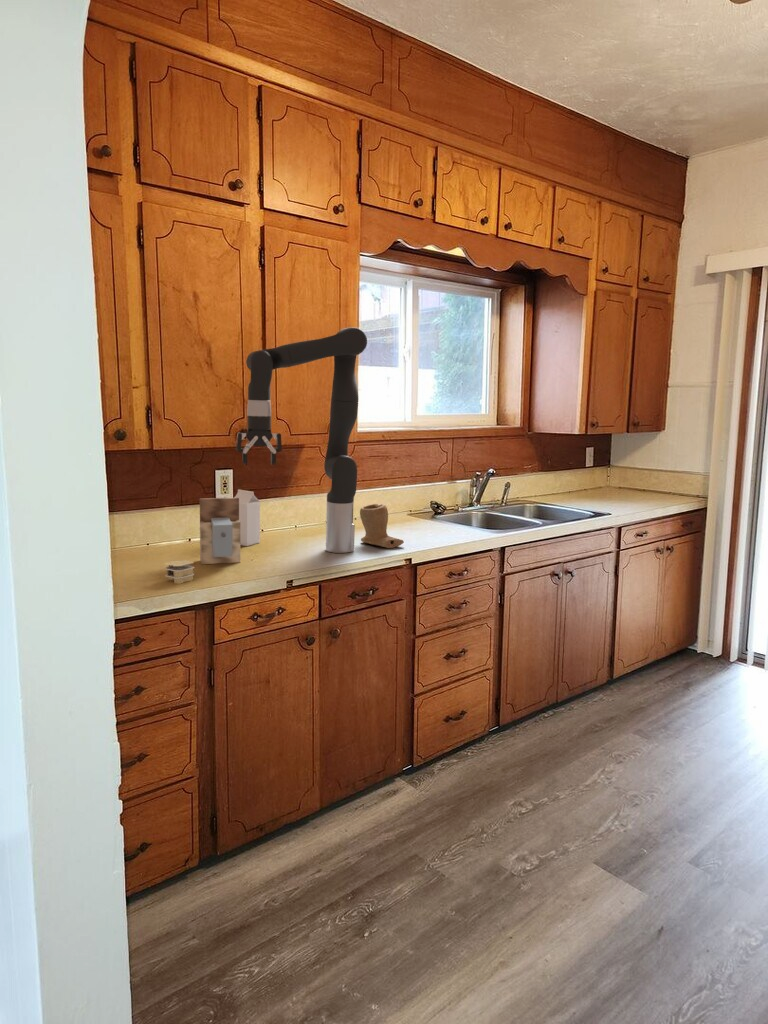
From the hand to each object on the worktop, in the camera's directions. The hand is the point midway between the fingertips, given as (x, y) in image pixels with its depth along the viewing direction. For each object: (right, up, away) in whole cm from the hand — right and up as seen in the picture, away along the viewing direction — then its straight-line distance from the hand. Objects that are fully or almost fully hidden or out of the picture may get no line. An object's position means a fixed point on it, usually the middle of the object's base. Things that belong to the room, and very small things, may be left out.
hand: (259, 465), depth 220 cm
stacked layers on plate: (-18, -35, -26) cm, 47 cm away
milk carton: (-9, -27, +22) cm, 35 cm away
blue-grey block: (-10, -28, -9) cm, 31 cm away
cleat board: (-11, -31, -4) cm, 33 cm away
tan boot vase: (+38, -28, +26) cm, 54 cm away
